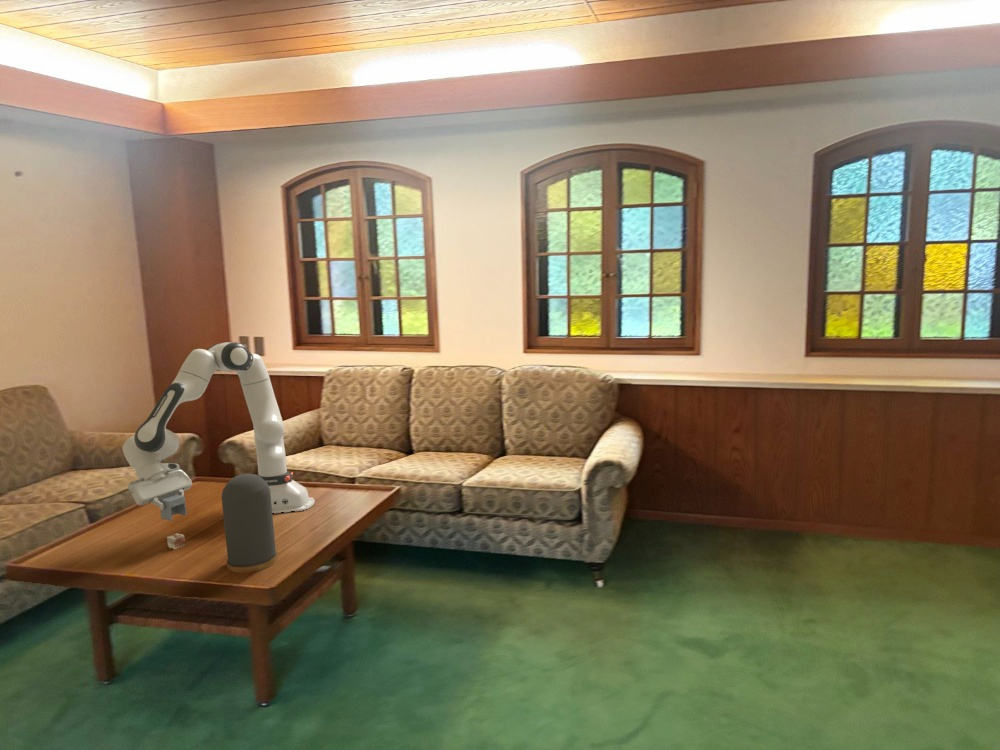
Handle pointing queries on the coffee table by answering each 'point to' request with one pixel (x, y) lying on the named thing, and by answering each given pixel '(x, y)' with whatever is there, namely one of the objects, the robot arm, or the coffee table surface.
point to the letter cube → (176, 541)
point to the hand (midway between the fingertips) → (173, 505)
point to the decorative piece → (248, 524)
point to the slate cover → (173, 506)
